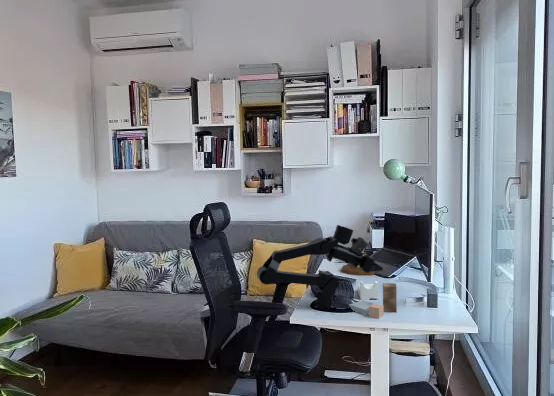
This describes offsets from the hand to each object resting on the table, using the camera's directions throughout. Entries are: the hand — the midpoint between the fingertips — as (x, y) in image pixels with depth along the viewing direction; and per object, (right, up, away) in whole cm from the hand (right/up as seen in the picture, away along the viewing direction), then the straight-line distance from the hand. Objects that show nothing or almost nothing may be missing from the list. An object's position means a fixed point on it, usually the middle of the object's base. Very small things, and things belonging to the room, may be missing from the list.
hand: (377, 266), depth 191 cm
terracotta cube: (-4, -16, -15) cm, 23 cm away
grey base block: (-7, -16, -7) cm, 19 cm away
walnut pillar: (+3, -16, -9) cm, 18 cm away
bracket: (-2, -15, +12) cm, 19 cm away
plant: (+3, -11, +56) cm, 57 cm away
